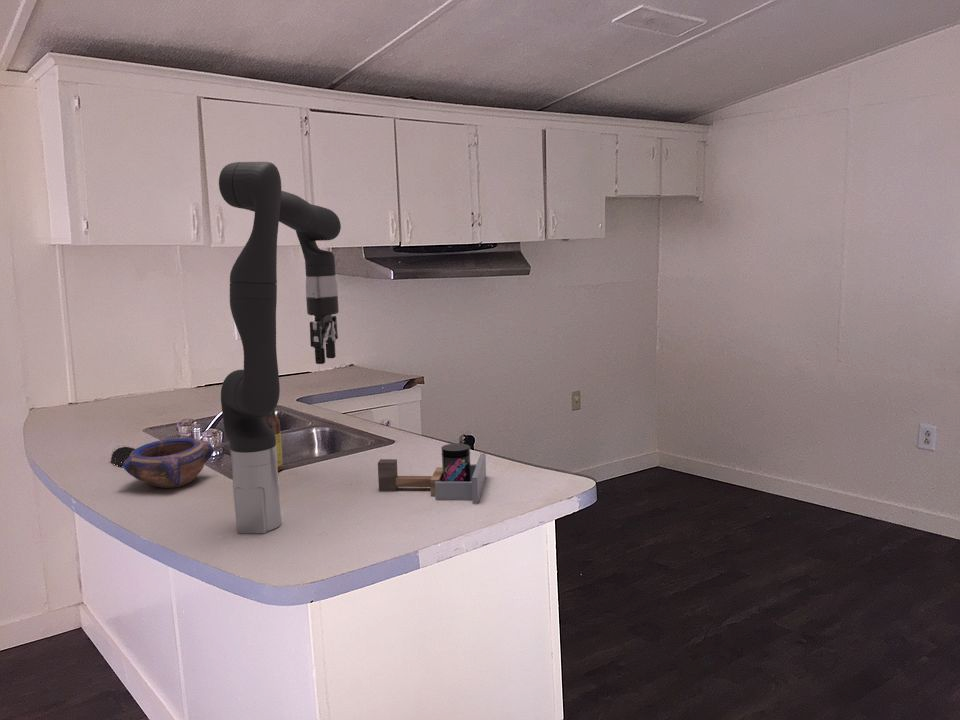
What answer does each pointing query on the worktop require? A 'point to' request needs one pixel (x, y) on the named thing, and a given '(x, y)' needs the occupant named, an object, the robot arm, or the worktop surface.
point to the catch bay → (464, 484)
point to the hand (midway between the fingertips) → (325, 360)
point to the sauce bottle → (276, 436)
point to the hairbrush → (121, 455)
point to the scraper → (404, 477)
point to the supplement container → (456, 463)
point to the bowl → (169, 461)
